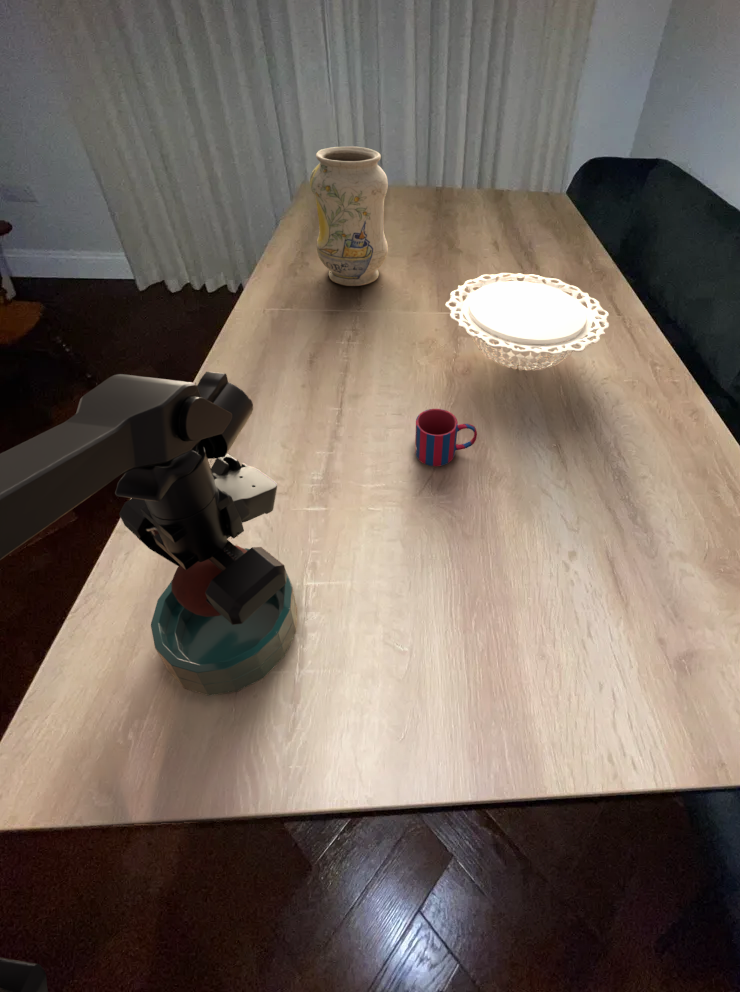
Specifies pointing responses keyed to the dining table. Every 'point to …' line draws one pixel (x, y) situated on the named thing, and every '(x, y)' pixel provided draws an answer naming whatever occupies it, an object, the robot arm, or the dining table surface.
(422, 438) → the mug
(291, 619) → the bowl
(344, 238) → the vase
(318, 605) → the dining table surface
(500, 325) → the white lattice bowl
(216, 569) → the potato
